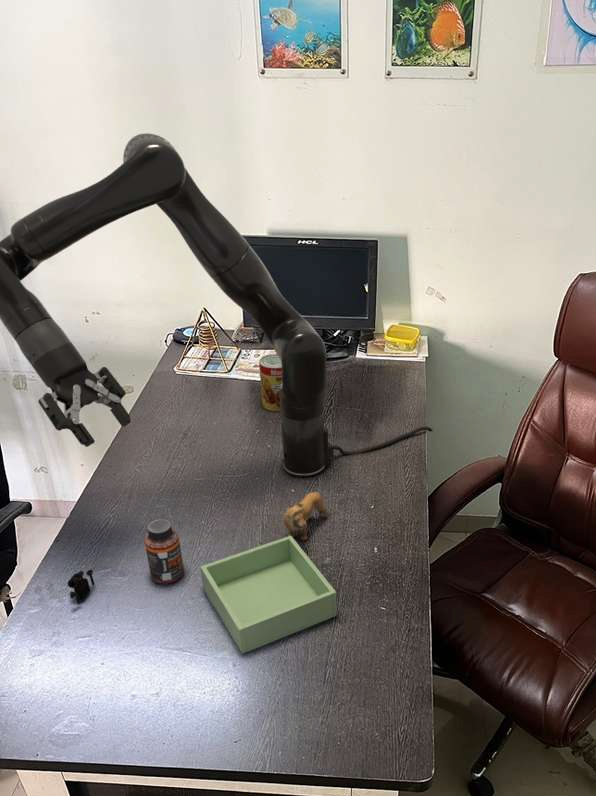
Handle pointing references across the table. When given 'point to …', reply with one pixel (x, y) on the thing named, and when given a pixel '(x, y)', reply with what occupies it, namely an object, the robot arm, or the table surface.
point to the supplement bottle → (163, 552)
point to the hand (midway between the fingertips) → (109, 434)
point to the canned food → (270, 381)
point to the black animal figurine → (80, 585)
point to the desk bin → (268, 593)
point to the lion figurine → (303, 513)
